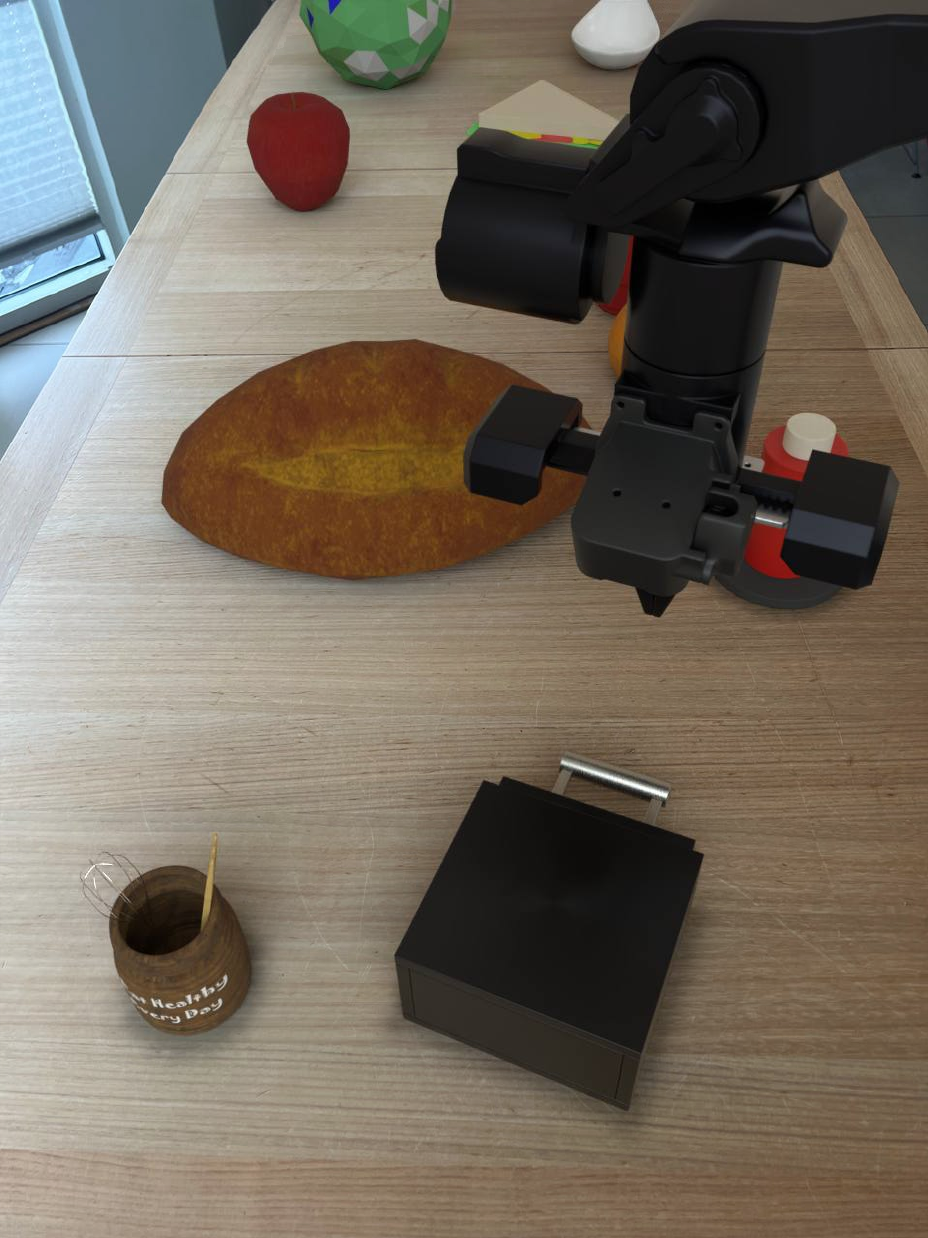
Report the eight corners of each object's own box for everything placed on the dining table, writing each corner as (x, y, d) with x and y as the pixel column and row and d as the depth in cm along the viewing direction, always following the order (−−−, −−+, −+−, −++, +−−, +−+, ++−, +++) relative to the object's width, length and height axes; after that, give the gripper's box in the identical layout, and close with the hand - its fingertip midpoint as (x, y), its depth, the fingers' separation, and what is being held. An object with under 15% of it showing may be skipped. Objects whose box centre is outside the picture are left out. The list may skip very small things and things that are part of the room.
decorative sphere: (412, 143, 143) (280, 67, 131) (390, 64, 154) (265, -13, 142) (499, 17, 131) (362, -79, 119) (468, -59, 142) (340, -153, 130)
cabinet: (484, 848, 59) (483, 779, 54) (687, 921, 55) (704, 853, 51) (402, 1019, 52) (393, 955, 47) (628, 1112, 49) (641, 1054, 44)
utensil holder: (144, 932, 56) (79, 798, 47) (265, 925, 56) (222, 789, 47) (125, 1045, 51) (50, 919, 43) (256, 1036, 52) (207, 910, 43)
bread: (190, 427, 87) (155, 287, 79) (588, 411, 88) (598, 270, 79) (146, 607, 73) (98, 460, 64) (626, 586, 73) (643, 437, 64)
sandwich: (562, 203, 115) (564, 156, 112) (449, 149, 126) (448, 105, 123) (661, 163, 122) (666, 118, 118) (546, 115, 133) (548, 73, 129)
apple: (371, 212, 115) (362, 98, 107) (277, 234, 112) (260, 118, 103) (334, 175, 122) (322, 65, 114) (245, 194, 119) (226, 83, 110)
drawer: (530, 769, 61) (531, 717, 58) (704, 826, 58) (717, 774, 55) (431, 975, 53) (427, 928, 49) (631, 1055, 50) (640, 1010, 46)
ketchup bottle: (824, 539, 75) (861, 412, 67) (810, 587, 71) (847, 458, 64) (750, 521, 76) (778, 395, 69) (733, 567, 73) (760, 439, 65)
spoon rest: (652, 80, 140) (658, 20, 135) (563, 76, 143) (566, 16, 137) (668, 24, 157) (674, -32, 152) (589, 20, 159) (591, -35, 154)
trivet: (857, 535, 76) (860, 527, 76) (834, 624, 70) (837, 616, 69) (724, 504, 79) (726, 495, 78) (691, 587, 73) (692, 578, 72)
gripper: (401, 395, 41) (422, 668, 52) (908, 511, 35) (810, 788, 47) (508, 265, 48) (506, 529, 59) (944, 344, 43) (852, 619, 54)
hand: (654, 610), depth 54 cm, fingers closed
